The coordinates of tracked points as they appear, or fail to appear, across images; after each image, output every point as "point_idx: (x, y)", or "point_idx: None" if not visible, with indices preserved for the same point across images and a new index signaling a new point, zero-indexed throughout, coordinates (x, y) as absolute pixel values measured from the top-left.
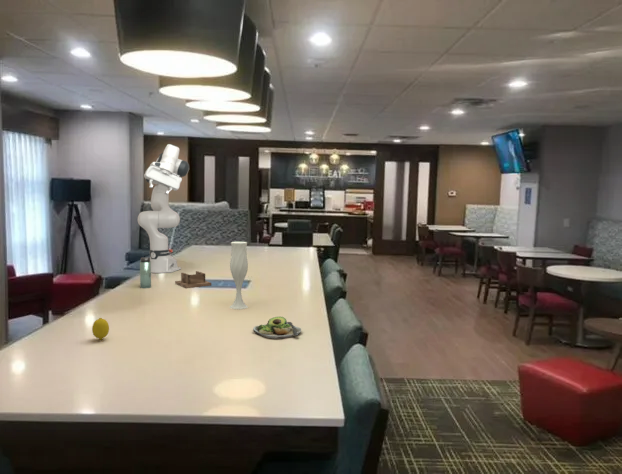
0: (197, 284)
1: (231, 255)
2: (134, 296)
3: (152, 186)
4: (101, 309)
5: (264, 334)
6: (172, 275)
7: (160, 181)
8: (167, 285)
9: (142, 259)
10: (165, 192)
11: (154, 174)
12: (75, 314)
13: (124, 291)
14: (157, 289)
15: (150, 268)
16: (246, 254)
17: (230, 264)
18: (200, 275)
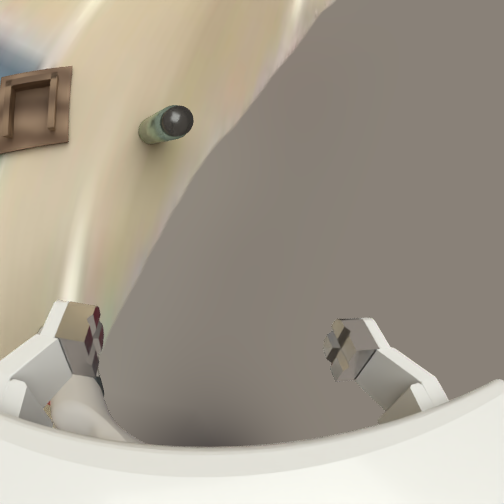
0: (40, 70)
1: None
2: (209, 49)
3: (350, 328)
4: (282, 7)
5: None
6: (42, 282)
7: (311, 451)
8: (94, 128)
9: (190, 112)
10: (98, 361)
11: (485, 478)
12: (312, 11)
13: (209, 108)
14: (137, 89)
15: (156, 113)
16: None
17: None
18: (21, 78)
